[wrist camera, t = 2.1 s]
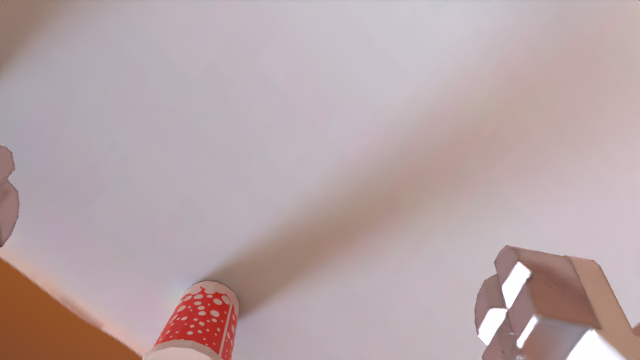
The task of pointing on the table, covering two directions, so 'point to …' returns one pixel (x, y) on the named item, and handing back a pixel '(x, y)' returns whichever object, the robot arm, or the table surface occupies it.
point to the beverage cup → (200, 325)
